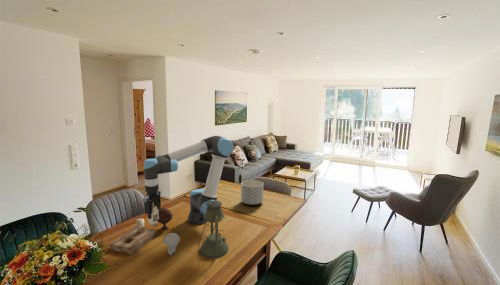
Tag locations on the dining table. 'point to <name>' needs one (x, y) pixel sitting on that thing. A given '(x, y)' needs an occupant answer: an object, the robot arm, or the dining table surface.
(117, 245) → the wooden candle holder
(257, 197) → the planter
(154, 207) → the peg
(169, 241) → the grey light bulb
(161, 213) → the ice cream bowl
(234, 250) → the dining table surface
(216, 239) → the lantern
